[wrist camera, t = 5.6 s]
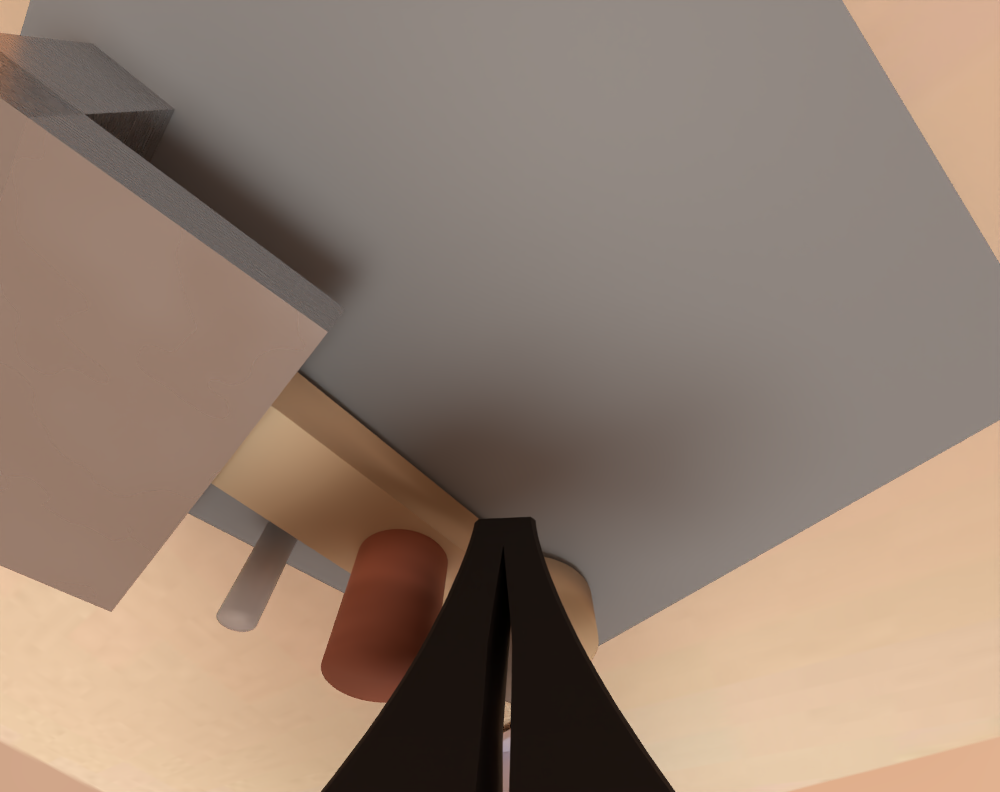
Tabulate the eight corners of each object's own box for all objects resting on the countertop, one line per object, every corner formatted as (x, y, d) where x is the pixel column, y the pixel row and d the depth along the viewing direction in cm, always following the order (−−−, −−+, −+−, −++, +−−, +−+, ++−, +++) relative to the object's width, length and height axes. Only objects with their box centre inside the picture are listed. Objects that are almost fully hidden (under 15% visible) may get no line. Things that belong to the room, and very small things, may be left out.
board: (525, 661, 20) (528, 775, 17) (-43, 356, 13) (-235, 449, 10) (1031, 361, 13) (1222, 459, 9) (331, -753, 6) (43, -2104, 2)
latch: (619, 607, 16) (652, 763, 13) (514, 656, 18) (515, 808, 14) (213, 264, 11) (44, 363, 7) (113, 385, 12) (-69, 520, 8)
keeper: (205, 489, 16) (111, 611, 12) (-2, 378, 14) (-192, 484, 10) (385, 255, 12) (328, 332, 8) (130, 47, 10) (-108, 20, 6)
